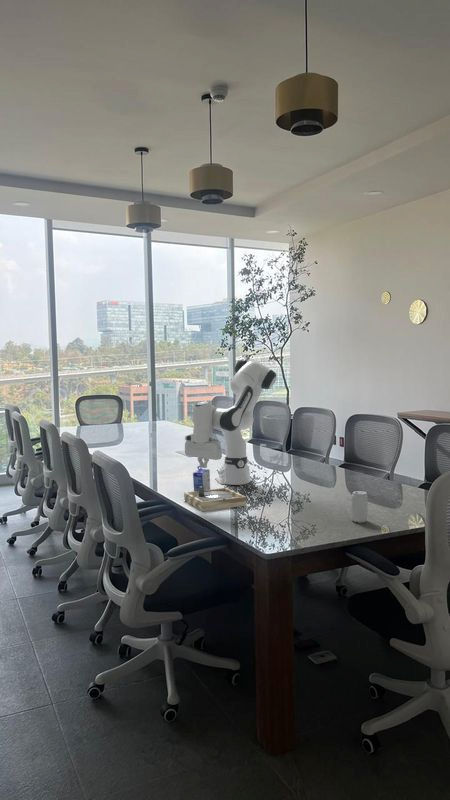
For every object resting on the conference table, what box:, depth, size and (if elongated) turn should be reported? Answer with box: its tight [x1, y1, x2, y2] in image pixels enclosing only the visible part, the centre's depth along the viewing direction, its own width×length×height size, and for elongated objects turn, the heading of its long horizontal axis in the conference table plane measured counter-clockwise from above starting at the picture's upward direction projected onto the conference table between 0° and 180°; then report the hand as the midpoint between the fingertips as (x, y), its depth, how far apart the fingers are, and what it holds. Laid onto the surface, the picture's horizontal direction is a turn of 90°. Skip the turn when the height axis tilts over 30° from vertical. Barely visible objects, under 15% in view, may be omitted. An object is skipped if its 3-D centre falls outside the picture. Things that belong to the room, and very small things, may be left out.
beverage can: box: [350, 490, 369, 524], centre depth 241 cm, size 6×6×12 cm
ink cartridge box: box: [192, 465, 211, 491], centre depth 292 cm, size 10×6×14 cm, turn 161°
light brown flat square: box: [183, 487, 247, 512], centre depth 275 cm, size 22×22×4 cm
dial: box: [197, 486, 233, 501], centre depth 275 cm, size 17×17×6 cm
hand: (203, 467), depth 269 cm, fingers closed
